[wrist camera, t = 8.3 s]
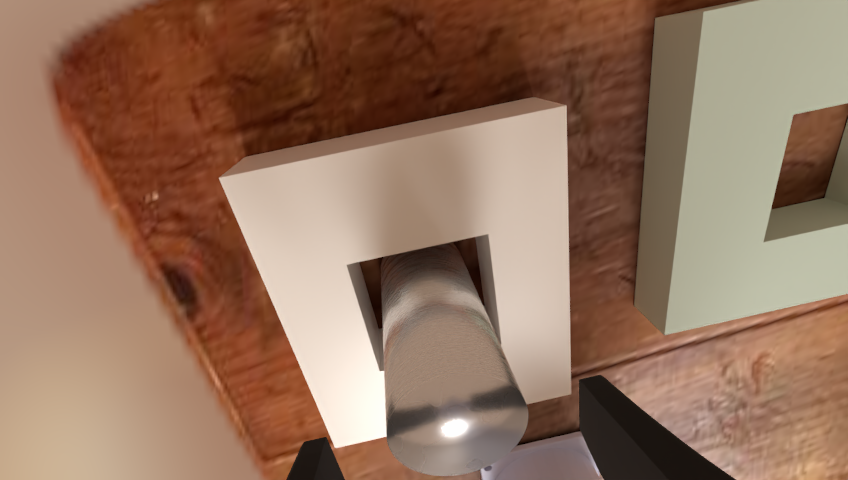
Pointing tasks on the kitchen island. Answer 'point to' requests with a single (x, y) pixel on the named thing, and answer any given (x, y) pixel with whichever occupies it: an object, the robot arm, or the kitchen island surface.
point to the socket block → (739, 163)
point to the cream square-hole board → (413, 243)
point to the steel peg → (444, 368)
